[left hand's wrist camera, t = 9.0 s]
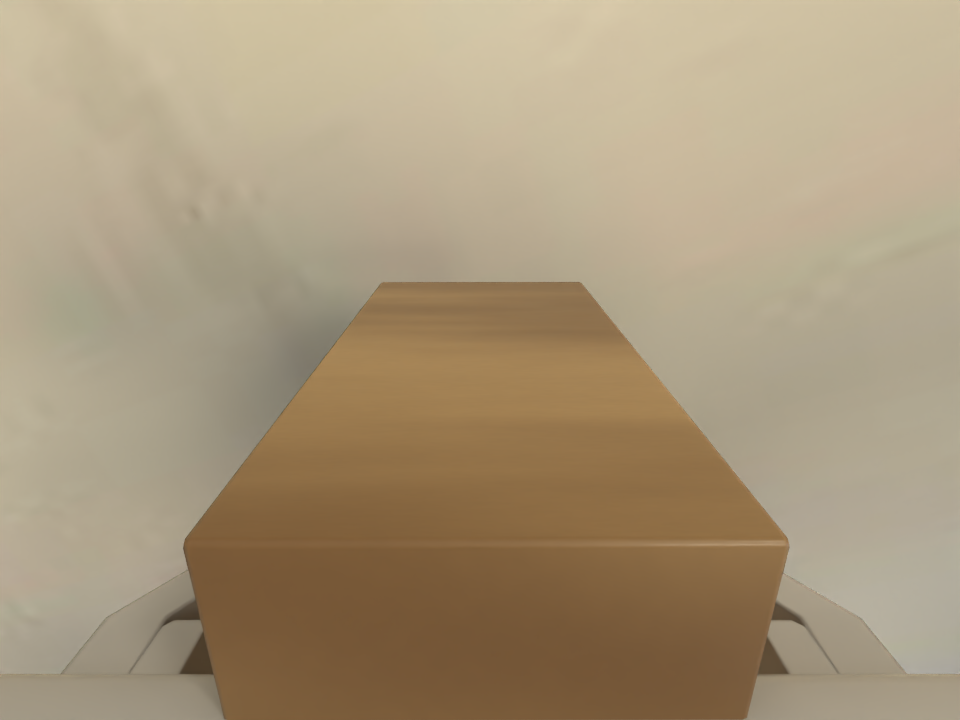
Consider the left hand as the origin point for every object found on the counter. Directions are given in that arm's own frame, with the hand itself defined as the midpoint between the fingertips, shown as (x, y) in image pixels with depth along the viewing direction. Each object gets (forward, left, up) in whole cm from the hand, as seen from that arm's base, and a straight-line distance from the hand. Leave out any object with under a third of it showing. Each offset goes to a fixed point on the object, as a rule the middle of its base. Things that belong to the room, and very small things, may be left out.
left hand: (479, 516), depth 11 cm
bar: (+9, 0, -4) cm, 10 cm away
